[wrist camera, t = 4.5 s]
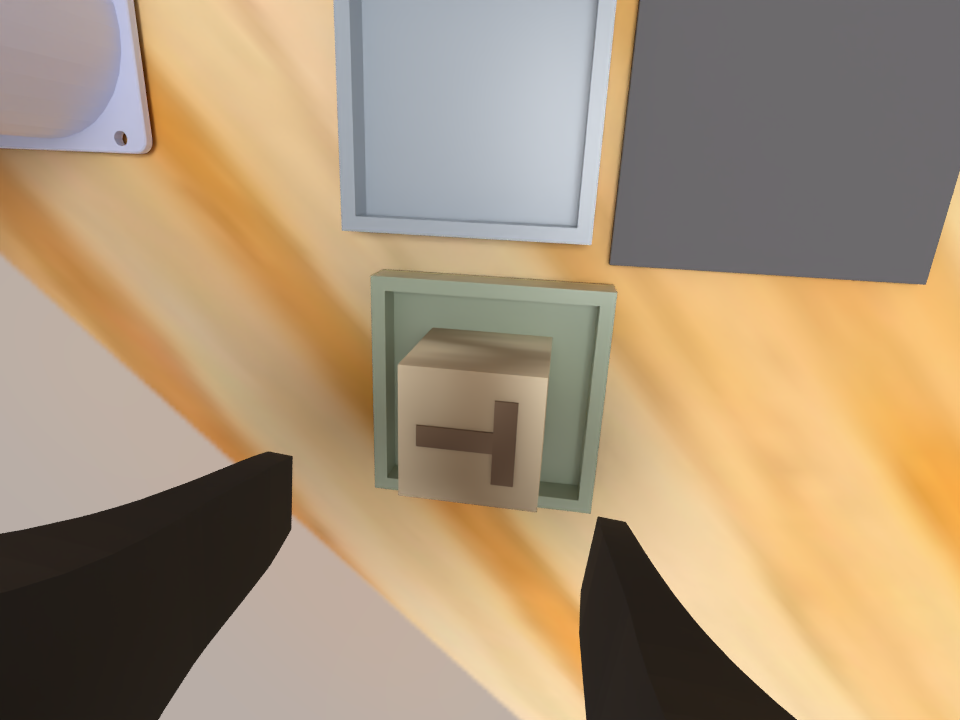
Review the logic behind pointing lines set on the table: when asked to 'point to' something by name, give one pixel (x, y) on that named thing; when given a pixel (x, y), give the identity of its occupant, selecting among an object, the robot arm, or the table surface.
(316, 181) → the table surface
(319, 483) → the table surface
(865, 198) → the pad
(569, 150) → the tray mid
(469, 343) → the letter cube
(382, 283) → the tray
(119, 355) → the table surface
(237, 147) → the table surface
